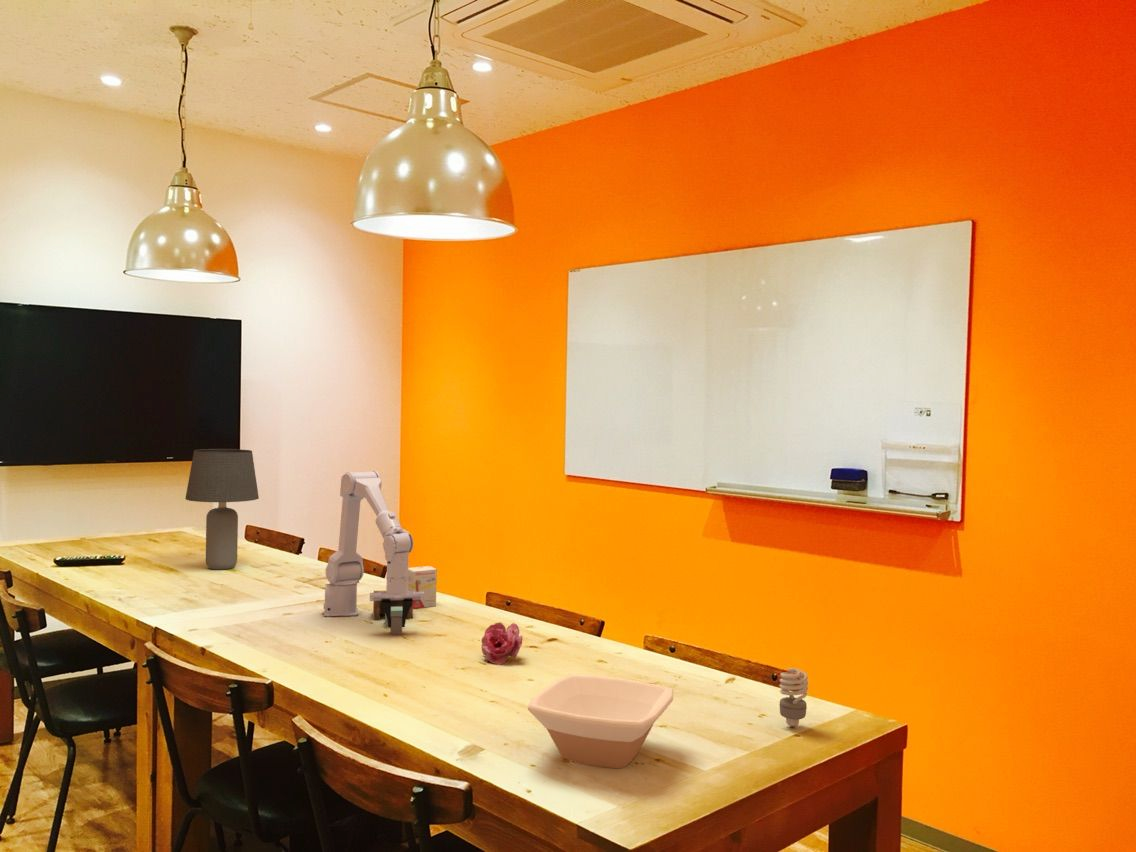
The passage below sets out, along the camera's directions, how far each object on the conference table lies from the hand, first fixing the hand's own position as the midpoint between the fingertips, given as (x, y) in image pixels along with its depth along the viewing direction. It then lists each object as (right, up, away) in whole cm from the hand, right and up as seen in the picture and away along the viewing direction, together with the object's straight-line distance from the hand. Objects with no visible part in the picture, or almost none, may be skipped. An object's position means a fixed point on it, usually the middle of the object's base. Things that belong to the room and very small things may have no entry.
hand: (396, 626), depth 253 cm
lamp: (-80, +3, +86) cm, 118 cm away
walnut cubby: (-5, -1, +19) cm, 20 cm away
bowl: (+53, -6, -82) cm, 97 cm away
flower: (+30, -4, -22) cm, 38 cm away
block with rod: (-1, -2, +6) cm, 6 cm away
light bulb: (+92, -7, -65) cm, 113 cm away
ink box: (+1, -1, +34) cm, 34 cm away
